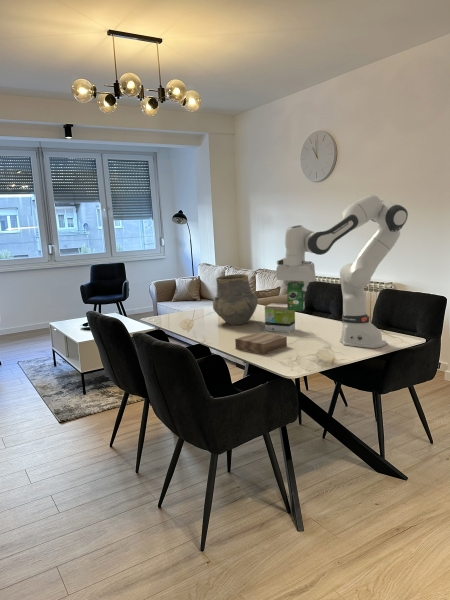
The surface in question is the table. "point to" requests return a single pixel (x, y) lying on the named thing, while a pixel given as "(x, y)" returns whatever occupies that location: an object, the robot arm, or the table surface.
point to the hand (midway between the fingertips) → (295, 290)
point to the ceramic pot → (234, 299)
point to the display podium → (261, 342)
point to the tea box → (279, 318)
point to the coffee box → (295, 296)
